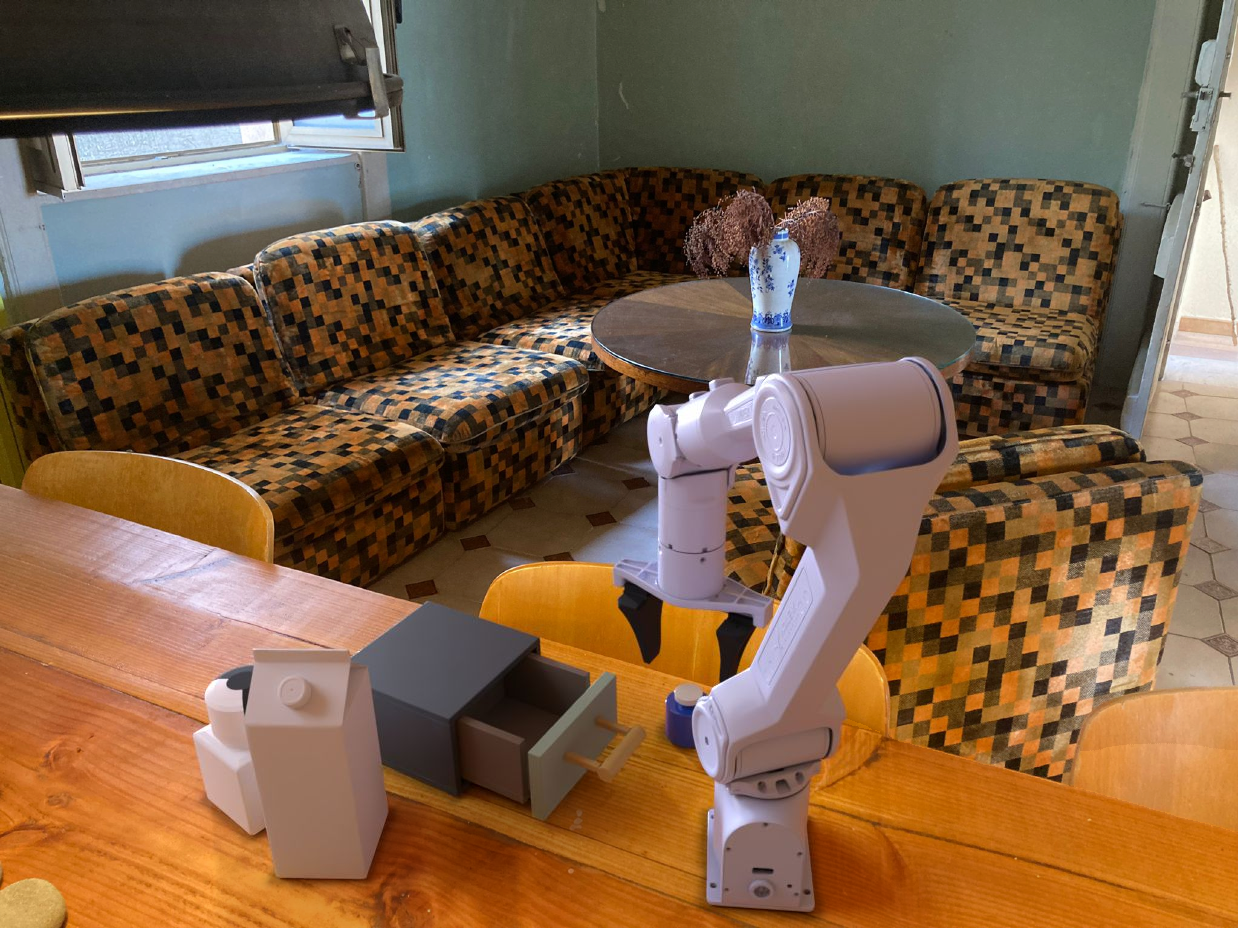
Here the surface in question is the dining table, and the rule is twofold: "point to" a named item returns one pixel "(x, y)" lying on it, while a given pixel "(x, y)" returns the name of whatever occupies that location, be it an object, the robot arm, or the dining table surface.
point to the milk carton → (316, 761)
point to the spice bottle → (682, 714)
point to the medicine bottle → (229, 750)
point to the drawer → (543, 733)
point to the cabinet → (435, 686)
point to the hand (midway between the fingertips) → (689, 669)
